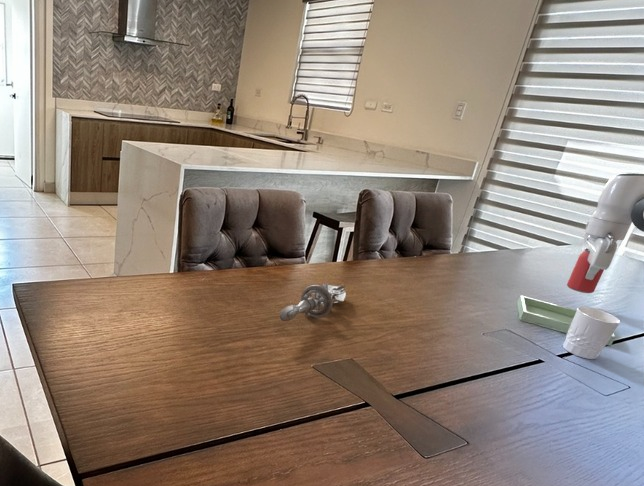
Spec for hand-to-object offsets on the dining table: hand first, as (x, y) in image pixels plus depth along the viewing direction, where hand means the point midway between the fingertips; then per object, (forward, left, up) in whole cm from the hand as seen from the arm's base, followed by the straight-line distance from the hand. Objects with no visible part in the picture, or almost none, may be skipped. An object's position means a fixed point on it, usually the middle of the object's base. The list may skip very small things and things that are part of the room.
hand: (585, 275), depth 138 cm
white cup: (+3, +39, -9) cm, 40 cm away
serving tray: (+5, +22, -9) cm, 24 cm away
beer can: (0, 0, -5) cm, 5 cm away
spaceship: (+60, +68, -9) cm, 91 cm away
